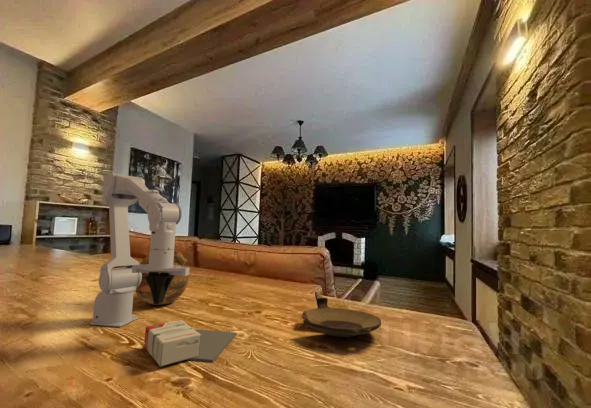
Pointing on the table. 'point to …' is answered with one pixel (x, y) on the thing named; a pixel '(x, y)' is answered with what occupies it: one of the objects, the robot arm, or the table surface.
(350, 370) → the table surface
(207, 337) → the mat
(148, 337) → the ink box
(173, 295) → the ceramic vessel
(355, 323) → the broken handled dish
